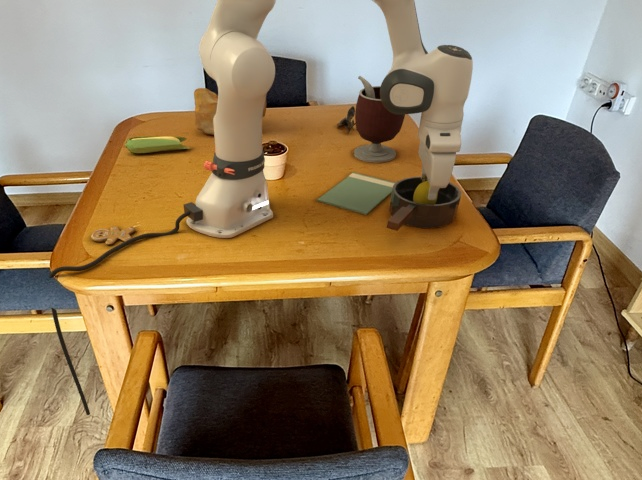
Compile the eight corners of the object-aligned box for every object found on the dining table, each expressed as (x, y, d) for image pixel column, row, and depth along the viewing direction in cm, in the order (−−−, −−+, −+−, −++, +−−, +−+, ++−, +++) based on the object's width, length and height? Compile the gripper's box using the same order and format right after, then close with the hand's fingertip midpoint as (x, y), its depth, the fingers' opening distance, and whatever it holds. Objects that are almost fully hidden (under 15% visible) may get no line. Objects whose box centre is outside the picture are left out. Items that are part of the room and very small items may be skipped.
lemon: (432, 207, 132) (438, 176, 126) (435, 217, 128) (442, 186, 122) (409, 206, 132) (415, 175, 127) (411, 217, 128) (418, 185, 123)
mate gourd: (407, 153, 158) (420, 80, 145) (380, 167, 151) (390, 92, 138) (365, 140, 166) (373, 70, 153) (337, 153, 159) (343, 81, 146)
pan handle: (397, 231, 115) (398, 223, 114) (386, 227, 117) (387, 220, 115) (418, 210, 122) (419, 202, 121) (407, 207, 123) (409, 200, 122)
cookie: (131, 241, 121) (87, 242, 121) (132, 245, 122) (88, 246, 122) (136, 223, 128) (94, 225, 127) (136, 227, 128) (95, 228, 128)
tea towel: (366, 215, 130) (366, 213, 130) (317, 201, 136) (317, 199, 136) (400, 185, 142) (400, 183, 142) (353, 173, 148) (353, 172, 148)
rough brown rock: (267, 122, 183) (266, 74, 174) (267, 135, 170) (265, 83, 161) (201, 125, 185) (196, 77, 175) (195, 138, 171) (189, 88, 162)
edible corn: (127, 150, 165) (124, 135, 162) (191, 146, 166) (190, 131, 163) (126, 157, 161) (123, 142, 158) (192, 152, 163) (190, 137, 160)
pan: (441, 235, 122) (446, 211, 118) (378, 218, 129) (381, 194, 125) (464, 209, 131) (470, 186, 127) (404, 194, 138) (408, 171, 134)
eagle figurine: (365, 129, 171) (359, 115, 176) (356, 112, 165) (350, 97, 171) (344, 142, 173) (338, 128, 179) (334, 126, 168) (329, 111, 174)
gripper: (418, 114, 125) (408, 171, 134) (432, 147, 110) (420, 209, 119) (445, 114, 125) (434, 171, 134) (463, 147, 110) (449, 209, 119)
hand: (427, 189), depth 127 cm, fingers open, 8 cm apart
